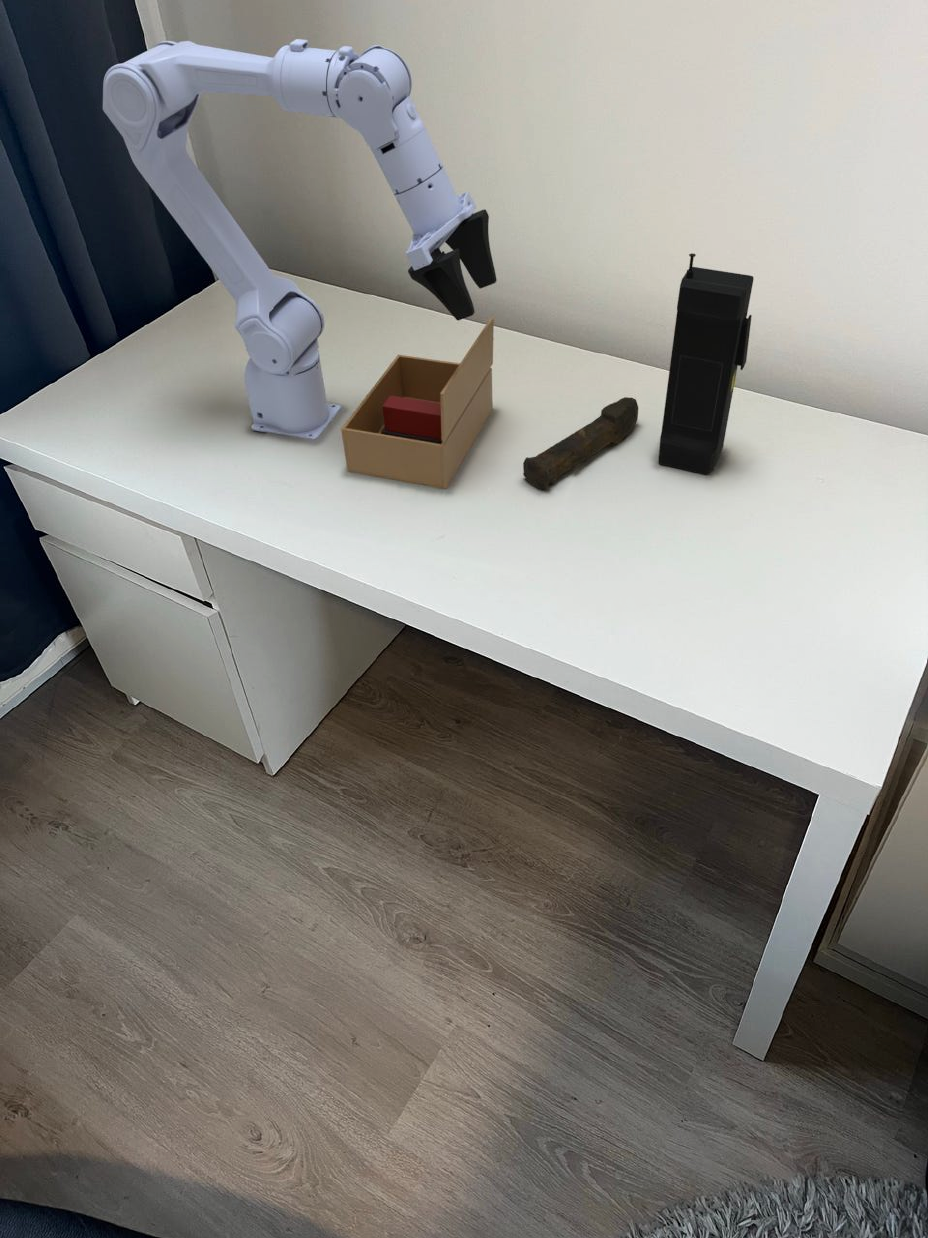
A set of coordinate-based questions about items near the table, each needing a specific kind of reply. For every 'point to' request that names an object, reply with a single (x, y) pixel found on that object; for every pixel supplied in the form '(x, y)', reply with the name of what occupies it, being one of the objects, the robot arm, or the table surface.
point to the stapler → (412, 419)
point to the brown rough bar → (582, 443)
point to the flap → (466, 379)
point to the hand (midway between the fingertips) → (477, 300)
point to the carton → (411, 456)
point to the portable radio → (704, 366)
